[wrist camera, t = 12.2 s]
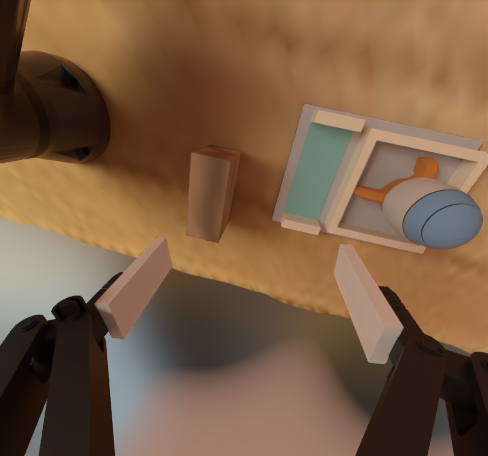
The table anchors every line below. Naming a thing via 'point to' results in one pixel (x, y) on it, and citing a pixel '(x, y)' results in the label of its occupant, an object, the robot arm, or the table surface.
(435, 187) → the toy rocket
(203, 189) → the wing block
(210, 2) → the table surface
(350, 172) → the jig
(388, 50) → the table surface
